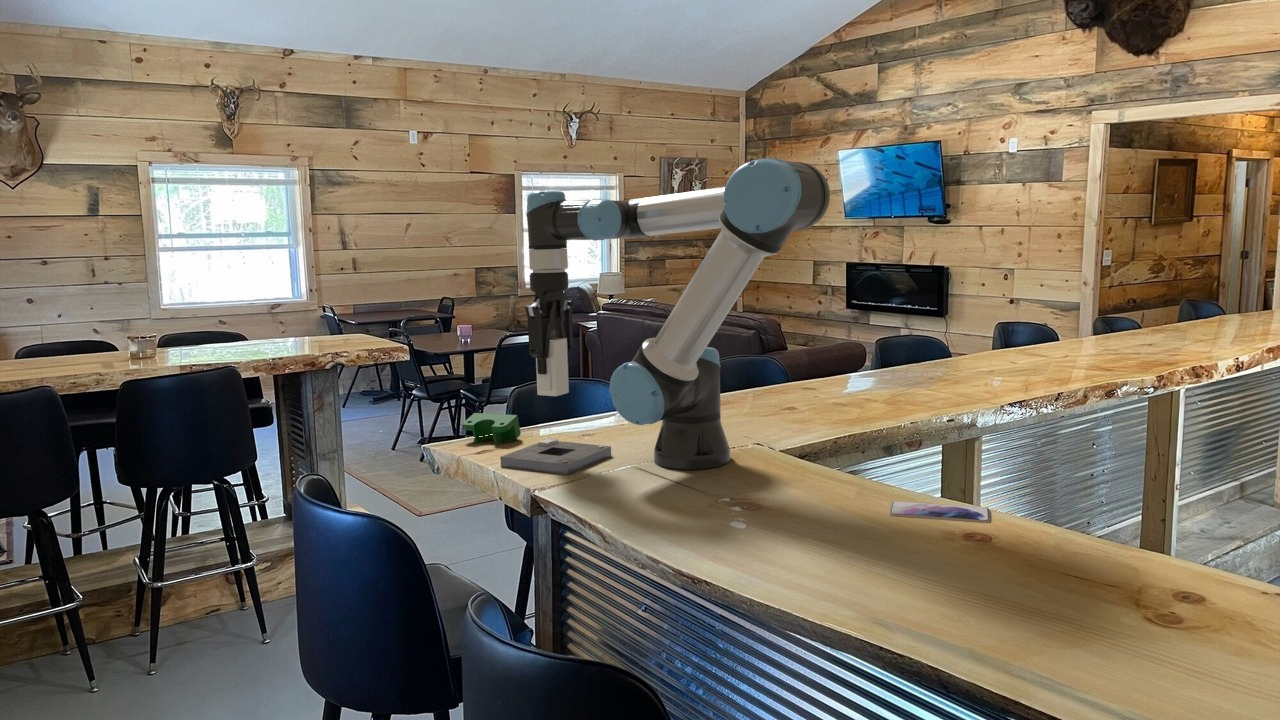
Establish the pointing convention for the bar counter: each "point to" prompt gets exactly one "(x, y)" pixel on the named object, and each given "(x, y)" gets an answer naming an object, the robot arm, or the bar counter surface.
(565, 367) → the plug
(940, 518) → the smartphone
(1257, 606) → the bar counter surface
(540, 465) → the socket
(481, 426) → the clamp
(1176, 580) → the bar counter surface
